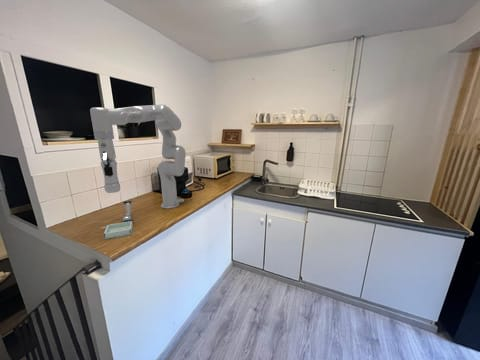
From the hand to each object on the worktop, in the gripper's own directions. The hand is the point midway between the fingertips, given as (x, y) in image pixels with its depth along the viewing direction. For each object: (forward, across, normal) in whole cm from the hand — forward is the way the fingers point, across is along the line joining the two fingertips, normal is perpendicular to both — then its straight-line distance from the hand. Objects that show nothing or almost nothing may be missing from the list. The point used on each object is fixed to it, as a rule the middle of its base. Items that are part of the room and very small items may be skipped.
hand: (110, 173), depth 96 cm
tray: (+31, 0, 0) cm, 31 cm away
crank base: (+31, +9, +2) cm, 33 cm away
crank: (+29, +14, -3) cm, 33 cm away
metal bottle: (+10, 0, 0) cm, 10 cm away
